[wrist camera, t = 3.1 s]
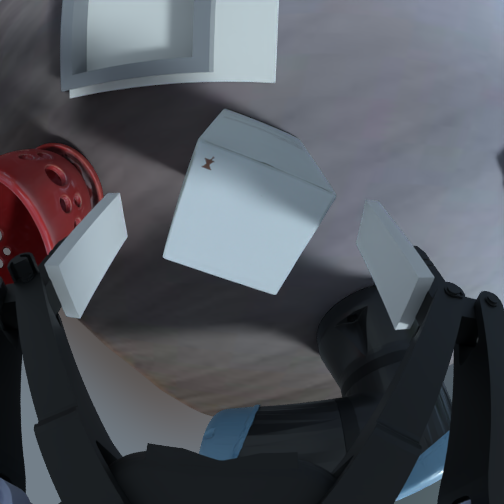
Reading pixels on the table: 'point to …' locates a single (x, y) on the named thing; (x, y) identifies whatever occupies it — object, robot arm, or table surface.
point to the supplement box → (247, 203)
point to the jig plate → (165, 43)
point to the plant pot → (43, 199)
